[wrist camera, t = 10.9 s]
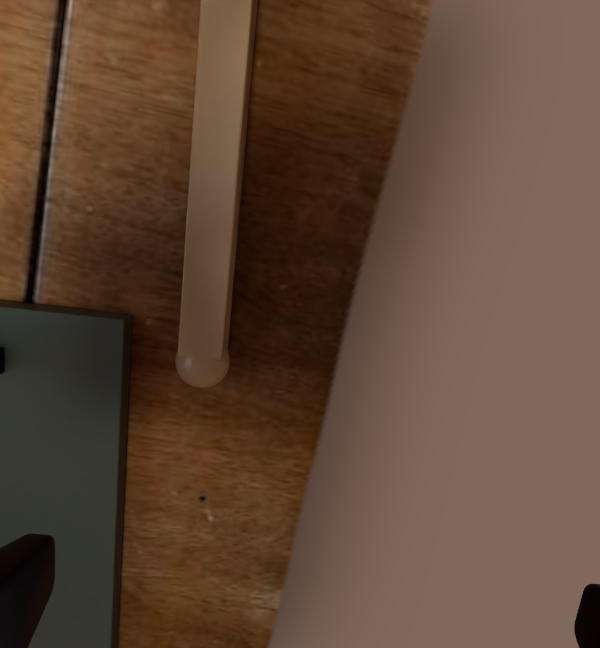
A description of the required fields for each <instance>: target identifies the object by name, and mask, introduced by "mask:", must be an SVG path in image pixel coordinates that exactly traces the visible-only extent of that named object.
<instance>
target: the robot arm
mask: <svg viewBox="0 0 600 648" xmlns="http://www.w3.org/2000/svg"><path fill="white" fill-rule="evenodd" d="M54 582H55V540H54V538H53V537H52V536H51V535H43V534H31V533H30V534H26V535H24V536H22V537H20V538H18V539H16V540H14V541H12V542H11V543H9V544H7V545H5V546H3V547H1V548H0V648H28V646H29V644H30V642H31V640H32V637H33V635H34V633H35V630H36V628H37V626H38V624H39V621H40V619H41V617H42V614H43V612H44V610H45V608H46V605H47V603H48V601H49V599H50V596H51V594H52V591H53V587H54ZM575 635H576V640H577V642H578V645H579V647H580V648H600V584H589V585H587V586H586V587H585V589H584V591H583V594H582V598H581V602H580V605H579V609H578V613H577V616H576V620H575Z"/></svg>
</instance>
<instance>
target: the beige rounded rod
mask: <svg viewBox="0 0 600 648" xmlns="http://www.w3.org/2000/svg"><path fill="white" fill-rule="evenodd" d="M257 5H258V0H201V3H200V18H199V34H198V49H197V64H196V80H195V95H194V111H193V126H192V141H191V157H190V172H189V187H188V203H187V218H186V234H185V249H184V264H183V280H182V295H181V311H180V326H179V341H178V351H177V353H176V358H175V365H176V369H177V372H178V374H179V376H180V377H181V378H182V380H183V381H184V382H186V383H187V384H189V385H191V386H193V387H197V388H208V387H211V386H214V385H216V384H217V383H219V382H220V381H221V380H222V379H223V378H224V377H225V375H226V374H227V372H228V369H229V365H230V356H229V352H228V350H227V349H228V339H229V328H230V316H231V305H232V293H233V282H234V270H235V259H236V247H237V236H238V224H239V213H240V201H241V190H242V178H243V167H244V155H245V144H246V132H247V121H248V109H249V97H250V86H251V74H252V63H253V51H254V40H255V28H256V17H257Z"/></svg>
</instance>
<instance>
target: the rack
mask: <svg viewBox="0 0 600 648" xmlns="http://www.w3.org/2000/svg"><path fill="white" fill-rule="evenodd" d="M131 334H132V315H131V314H122V313H113V312H104V311H94V310H85V309H76V308H67V307H57V306H48V305H39V304H30V303H20V302H11V301H2V300H0V548H1V547H3V546H5V545H7V544H9V543H11V542H12V541H14V540H16V539H18V538H20V537H22V536H24V535H26V534H30V533H31V534H43V535H51V536H52V537H53V538H54V540H55V582H54V587H53V591H52V594H51V596H50V599H49V601H48V603H47V605H46V608H45V610H44V612H43V614H42V617H41V619H40V621H39V624H38V626H37V628H36V630H35V633H34V635H33V637H32V640H31V642H30V644H29V646H28V648H117V645H118V623H119V601H120V578H121V556H122V534H123V512H124V489H125V467H126V445H127V423H128V400H129V378H130V356H131Z"/></svg>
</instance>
